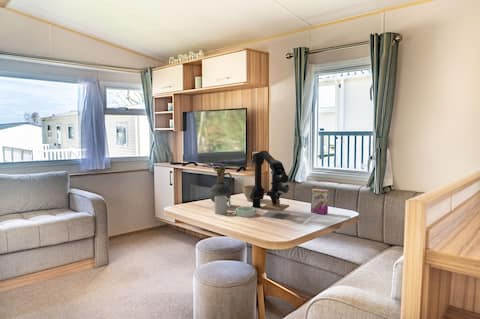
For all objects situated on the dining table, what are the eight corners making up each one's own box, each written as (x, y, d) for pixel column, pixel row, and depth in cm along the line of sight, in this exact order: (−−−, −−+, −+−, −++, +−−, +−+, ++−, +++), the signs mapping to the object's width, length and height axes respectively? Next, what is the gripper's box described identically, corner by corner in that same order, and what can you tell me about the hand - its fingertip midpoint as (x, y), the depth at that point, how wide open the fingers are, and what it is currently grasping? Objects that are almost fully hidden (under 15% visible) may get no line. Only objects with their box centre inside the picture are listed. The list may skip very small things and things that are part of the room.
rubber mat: (268, 211, 239) (268, 211, 239) (290, 214, 232) (290, 213, 232) (259, 216, 225) (259, 216, 225) (282, 220, 218) (282, 219, 218)
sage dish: (241, 212, 238) (241, 205, 238) (258, 214, 233) (258, 207, 232) (232, 216, 227) (232, 209, 226) (250, 218, 221) (250, 211, 221)
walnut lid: (269, 204, 237) (270, 197, 237) (289, 206, 231) (289, 199, 231) (261, 208, 225) (262, 200, 225) (282, 210, 219) (282, 203, 218)
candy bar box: (310, 213, 236) (311, 189, 235) (311, 211, 241) (312, 188, 239) (327, 214, 232) (328, 190, 231) (328, 213, 237) (328, 189, 236)
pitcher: (207, 206, 254) (207, 165, 252) (226, 202, 268) (226, 164, 265) (217, 208, 247) (217, 167, 244) (236, 204, 260) (236, 165, 258)
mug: (218, 214, 230) (218, 198, 229) (212, 212, 236) (212, 196, 235) (233, 212, 237) (233, 196, 236) (226, 210, 243) (226, 194, 242)
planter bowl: (240, 198, 284) (240, 185, 283) (259, 197, 287) (259, 185, 287) (245, 202, 268) (245, 188, 267) (265, 201, 272) (265, 188, 271)
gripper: (283, 183, 215) (282, 208, 216) (292, 180, 231) (292, 203, 233) (266, 182, 220) (266, 206, 221) (276, 178, 236) (276, 201, 238)
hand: (275, 204), depth 228 cm, fingers closed on walnut lid, 4 cm apart
